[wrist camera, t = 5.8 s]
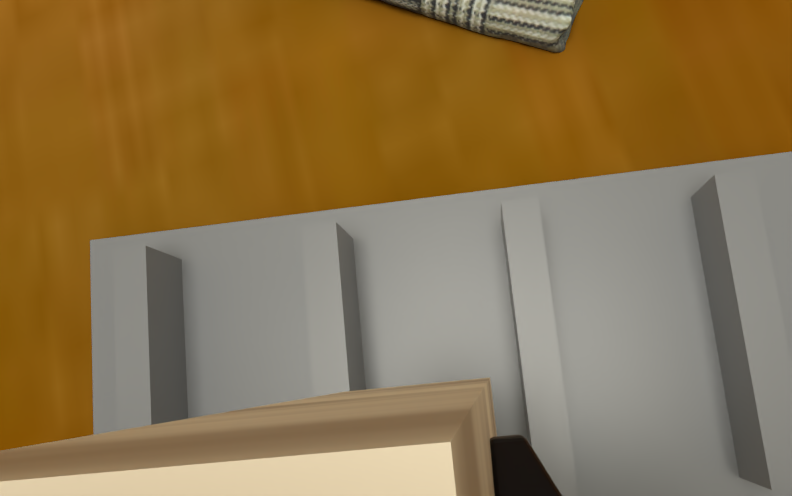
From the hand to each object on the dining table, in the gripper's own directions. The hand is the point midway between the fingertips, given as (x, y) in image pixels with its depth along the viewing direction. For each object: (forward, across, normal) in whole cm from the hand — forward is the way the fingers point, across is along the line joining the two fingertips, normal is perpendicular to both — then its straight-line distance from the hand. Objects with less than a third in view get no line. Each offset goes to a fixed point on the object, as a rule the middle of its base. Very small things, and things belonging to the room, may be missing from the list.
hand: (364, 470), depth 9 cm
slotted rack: (+11, 0, +9) cm, 14 cm away
